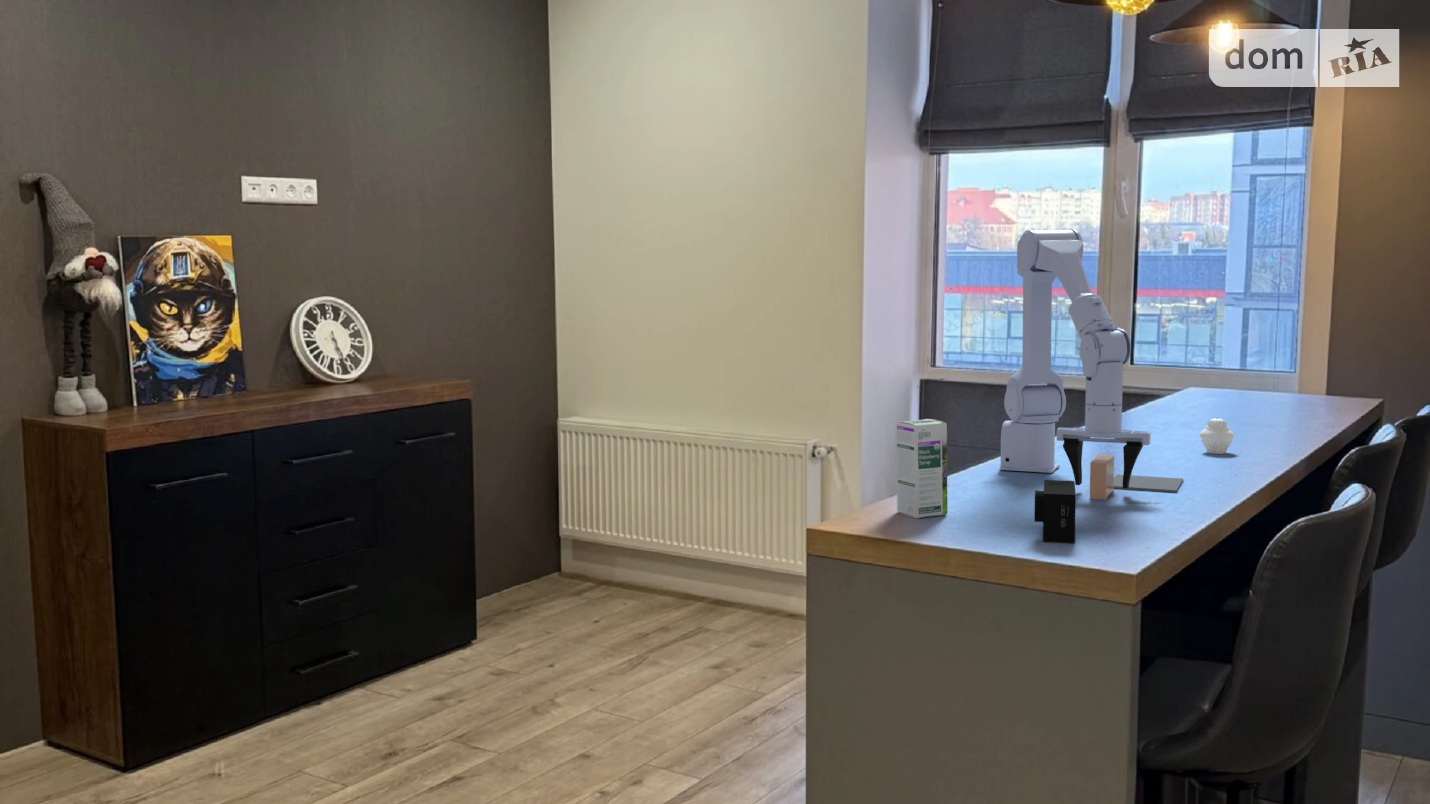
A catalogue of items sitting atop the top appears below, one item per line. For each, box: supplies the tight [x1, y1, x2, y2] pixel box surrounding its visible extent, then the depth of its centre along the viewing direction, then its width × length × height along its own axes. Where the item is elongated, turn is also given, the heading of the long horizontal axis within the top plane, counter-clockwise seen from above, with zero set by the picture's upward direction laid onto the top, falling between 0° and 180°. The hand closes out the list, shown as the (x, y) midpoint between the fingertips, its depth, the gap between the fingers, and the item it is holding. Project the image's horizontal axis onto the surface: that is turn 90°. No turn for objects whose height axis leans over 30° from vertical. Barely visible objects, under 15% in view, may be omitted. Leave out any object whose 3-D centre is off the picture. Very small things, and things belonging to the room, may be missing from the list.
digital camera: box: [1033, 479, 1077, 545], centre depth 169 cm, size 10×5×7 cm, turn 164°
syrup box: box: [895, 418, 948, 519], centre depth 183 cm, size 6×6×14 cm
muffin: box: [1199, 417, 1235, 455], centre depth 232 cm, size 6×6×7 cm
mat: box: [1113, 473, 1184, 494], centre depth 203 cm, size 11×11×1 cm
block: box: [1089, 454, 1115, 500], centre depth 195 cm, size 3×8×6 cm, turn 153°
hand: (1101, 485), depth 196 cm, fingers open, 7 cm apart
